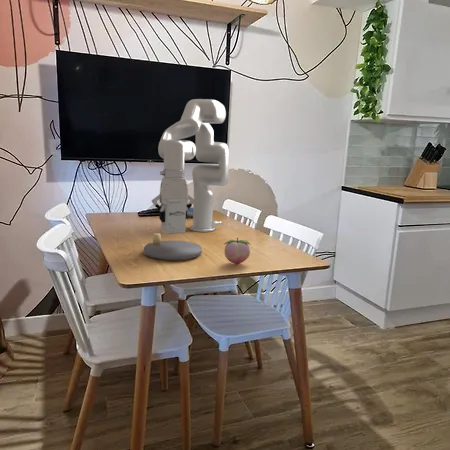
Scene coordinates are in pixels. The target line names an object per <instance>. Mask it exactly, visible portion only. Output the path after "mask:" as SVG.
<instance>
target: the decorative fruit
mask: <svg viewBox="0 0 450 450" xmlns="http://www.w3.org/2000/svg"><path fill="white" fill-rule="evenodd" d="M249 245H252V244H251V243H250V242H249V241H248V240H246V239H240V240H239V237H237V238H236V239H235V240H234V239H230V240H227V241H226V242H224V246H225V247H224V257H225V258H226V259H227V260H228V261H229V262H230V263H232V264H234V265H239V264H241V263H244V262H246V260H247V259H249V257H250V255H251V250H250V249H251V248H250V246H249Z"/></svg>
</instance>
